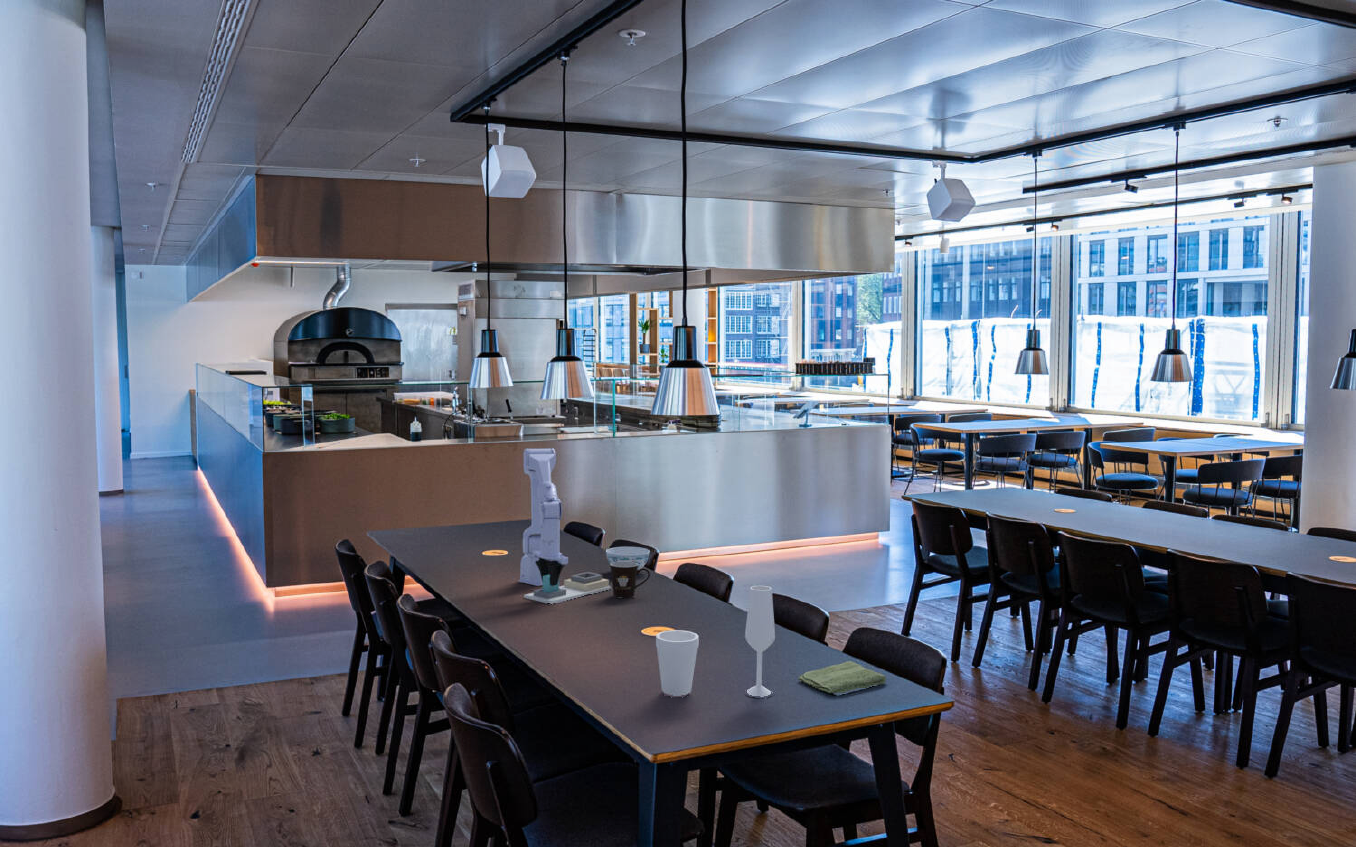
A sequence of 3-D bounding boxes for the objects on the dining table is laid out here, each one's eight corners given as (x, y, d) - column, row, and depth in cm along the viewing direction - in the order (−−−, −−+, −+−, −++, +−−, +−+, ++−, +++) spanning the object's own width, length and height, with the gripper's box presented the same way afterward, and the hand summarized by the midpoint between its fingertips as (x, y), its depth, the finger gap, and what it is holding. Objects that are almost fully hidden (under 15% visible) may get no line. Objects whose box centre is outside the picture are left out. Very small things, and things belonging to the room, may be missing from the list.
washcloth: (794, 683, 238) (795, 669, 238) (851, 671, 248) (851, 658, 247) (832, 700, 227) (833, 686, 227) (890, 686, 237) (890, 673, 236)
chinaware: (652, 569, 357) (652, 547, 357) (646, 578, 342) (646, 555, 342) (609, 567, 359) (609, 545, 358) (602, 577, 344) (602, 554, 343)
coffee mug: (604, 597, 316) (605, 565, 315) (619, 591, 324) (619, 560, 323) (637, 601, 311) (637, 569, 310) (651, 596, 318) (651, 564, 318)
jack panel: (524, 597, 313) (524, 583, 313) (584, 583, 333) (584, 570, 333) (551, 604, 306) (551, 589, 305) (611, 589, 326) (611, 575, 326)
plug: (542, 595, 313) (542, 575, 313) (552, 592, 316) (552, 573, 316) (548, 596, 311) (549, 577, 311) (558, 594, 314) (559, 575, 314)
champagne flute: (771, 688, 233) (774, 584, 231) (775, 698, 226) (778, 591, 224) (742, 688, 232) (744, 584, 231) (745, 698, 226) (747, 591, 224)
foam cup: (696, 686, 233) (697, 630, 233) (698, 700, 224) (699, 642, 223) (655, 686, 233) (655, 630, 232) (655, 700, 224) (656, 641, 223)
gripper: (575, 541, 310) (575, 585, 311) (545, 535, 320) (544, 578, 321) (558, 544, 305) (557, 589, 306) (527, 538, 315) (527, 581, 316)
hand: (549, 584), depth 313 cm, fingers open, 3 cm apart
